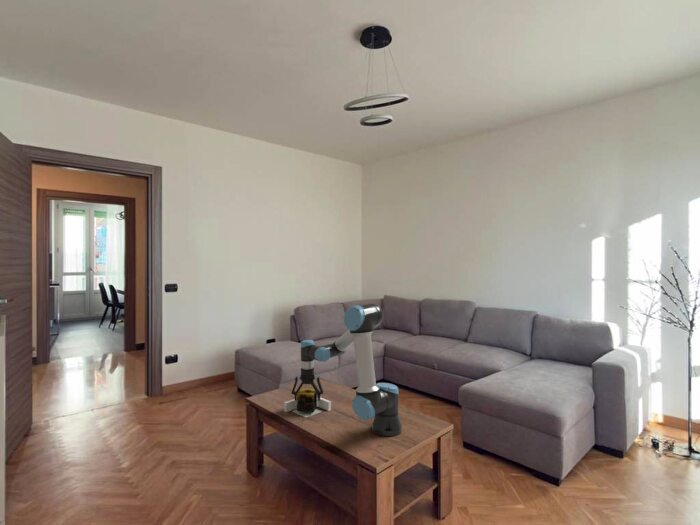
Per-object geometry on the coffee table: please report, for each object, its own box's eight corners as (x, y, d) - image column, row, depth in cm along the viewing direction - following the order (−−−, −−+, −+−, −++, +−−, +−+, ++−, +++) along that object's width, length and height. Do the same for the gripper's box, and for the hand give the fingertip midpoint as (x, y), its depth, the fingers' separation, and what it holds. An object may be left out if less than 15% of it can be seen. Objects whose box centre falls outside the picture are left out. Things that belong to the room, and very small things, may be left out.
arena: (331, 410, 220) (331, 401, 220) (303, 420, 206) (303, 411, 206) (311, 401, 233) (311, 393, 233) (284, 411, 219) (284, 402, 219)
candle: (313, 412, 212) (313, 394, 212) (296, 411, 214) (296, 393, 214) (318, 405, 222) (318, 388, 222) (301, 404, 224) (301, 387, 224)
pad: (322, 411, 218) (322, 411, 218) (305, 417, 209) (305, 417, 209) (308, 405, 226) (308, 405, 226) (292, 411, 218) (292, 411, 218)
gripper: (328, 365, 221) (328, 403, 222) (288, 365, 221) (288, 403, 222) (327, 369, 214) (327, 408, 214) (286, 369, 214) (286, 408, 214)
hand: (307, 406), depth 218 cm, fingers closed on candle, 11 cm apart
